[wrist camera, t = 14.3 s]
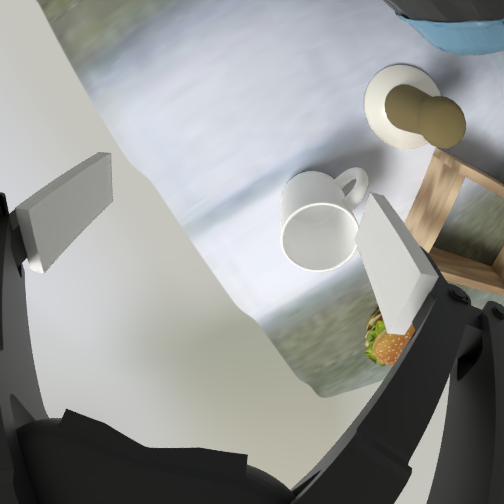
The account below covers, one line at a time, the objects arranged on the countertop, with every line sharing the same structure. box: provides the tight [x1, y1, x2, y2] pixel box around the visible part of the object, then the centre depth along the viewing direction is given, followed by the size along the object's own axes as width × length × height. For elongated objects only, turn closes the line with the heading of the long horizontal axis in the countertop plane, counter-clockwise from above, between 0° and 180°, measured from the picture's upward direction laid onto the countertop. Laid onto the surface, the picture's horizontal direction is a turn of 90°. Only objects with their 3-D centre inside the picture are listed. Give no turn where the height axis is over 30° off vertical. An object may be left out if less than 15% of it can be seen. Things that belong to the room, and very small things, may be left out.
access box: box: [404, 148, 504, 296], centre depth 35 cm, size 15×23×7 cm, turn 78°
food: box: [365, 309, 415, 366], centre depth 48 cm, size 14×14×8 cm
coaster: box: [364, 65, 441, 150], centre depth 31 cm, size 11×11×1 cm
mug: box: [280, 167, 368, 272], centre depth 34 cm, size 12×8×10 cm
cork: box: [384, 84, 466, 148], centre depth 26 cm, size 6×6×11 cm
